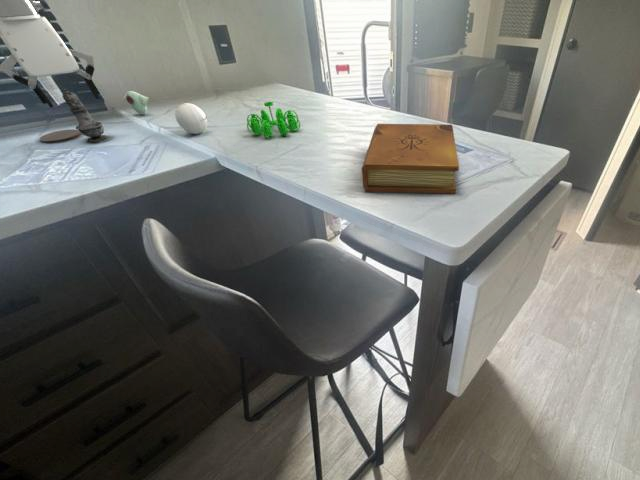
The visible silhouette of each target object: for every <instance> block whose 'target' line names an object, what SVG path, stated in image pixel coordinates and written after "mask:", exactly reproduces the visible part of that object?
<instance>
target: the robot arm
mask: <svg viewBox="0 0 640 480" xmlns="http://www.w3.org/2000/svg"><path fill="white" fill-rule="evenodd" d="M41 10H45V8H44V6H43V4H42V3H41V1H40V0H0V38H1V40H2V42H3V43H4V45H5V46H6V47H7V49H8V50H9V52H10V55H9V56H8V57H7V58H6V59H5V60H4V61H3V62H2V63H1V64H0V71H1V72H3V73H4V74H6V75H7V76H8V77H10V78H12V79H13V80H14V81H16V82H17V83H20V84H22V85H24V86H27V87H28V88H30V89H32V90H33V92H34V93H35V94H36V96H37V97H38V98H39V99H40V101H41V102H42V104H47V105H48V107H49V108H54V104H53V103H52V102H51V100H50V99H49V97H48V96H47V95H46V94H45V92H44V90H43V89H42V87H41V86H39V85H38V84H37V80H38V78H42V77H49V76H50V77H51V76H56V75H63V74H70V73H75V74H78V75H80V76H81V77H82V78H83V80H84V83H85V84H86V86H87V87H88V89H89V91H90V93H91V94H92V96H93V97H94V98H95V99H96V100H100V99H101V97H100V96H99V95H100V94H101V92H100V91H99V89H98V88H97V85H95V82H94V81H93V76H94V72H95V63H94V57H93V56H92V55H91V54H87V53H85V52H81V51H79V50H75V49H72V48H69V47H67V45H66V44H65V42H64V40H63V39H62V37H61V36H60V35H59V33H58V32H57V31H56V29H55V28H54V26H53V25H52V24H51V23H50V21H49V20H48V19H47V18H46V16H41V15H40V13H39V11H41ZM75 57H77V58H79V59H82V60H85V64H86V66H85V69H84V70H83V69H81V68H80V66H79V64H78V62H77V60H76V58H75ZM17 63H18V65H19V66H20V68H22V70H23V71H24V72H25V73H26V74H27V78H25V77H23V76H21V75H19V74H17V73H16V72H14V71H13V70H12V68H13V67H15V65H16V64H17Z"/></svg>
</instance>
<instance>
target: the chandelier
mask: <svg viewBox="0 0 640 480" xmlns="http://www.w3.org/2000/svg"><path fill="white" fill-rule="evenodd" d="M272 106H274V103H273V101H266V102H264V107H268V109H269V113H270V115H269V113H268V112H267V111H266V110H265V109H261V110H260V116H259V115H258V114H256V113H250V114H249V115H248V116H247V118H246V122H247V123H246V129H247V131H248V132H249V133H250V134H251V135H253V136H255V137H258V136H261V135H262V134H263V135H264V137H265V138H266V139H270V138H271V137H272V135H273V130H272V126H277V128H278V133H279V134H280V135H282V136H283V137H287V136H288V130H289V131H290V132H297V131H299V130H300V128H301V122H300V120H299V119H300V118H299V116H298V114H297V112H296V111H295V110H293V109H288V110H286V111H285V112H283V110H282V108H281V107H278V108H276V110H275V118H276V119H274V116H273V112H272V109H271V107H272ZM250 116H251V117H250ZM270 117H271V118H270ZM286 121H287V122H286ZM249 127H250V128H249ZM250 129H251V130H250ZM251 131H252V132H251Z"/></svg>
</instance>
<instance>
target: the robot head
mask: <svg viewBox="0 0 640 480" xmlns="http://www.w3.org/2000/svg"><path fill="white" fill-rule="evenodd" d="M149 98H150V97H148V96H145V95H142V94H140V93H139V92H136V91H134V90H128V91H126V92H125V95H124V96H123V100H124V101H125V102H126V103H127V104H128V105H129V107H131V109H133V111H135V113H137V114H139V115H142V116H145V115H146V114H147V113H148V108H147V104H148V102H149Z"/></svg>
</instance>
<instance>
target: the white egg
mask: <svg viewBox="0 0 640 480" xmlns="http://www.w3.org/2000/svg"><path fill="white" fill-rule="evenodd" d="M174 117H175V119H176V122H177V124H178V125H179V127H180V128H181V129H183V130H184V131H185V132H188V133H189V134H194V135H198V134H201V133H203V132H204V131H205V130H206V129H207V127H208V120H207V118H208V117H207V115H206V114H205V112H204V111H203V110H202V109H201V108H200V107H198V106H197V105H196V104H193V103H189V102H184V103H180V105H178V106H177V107H176V109H175V116H174Z"/></svg>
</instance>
